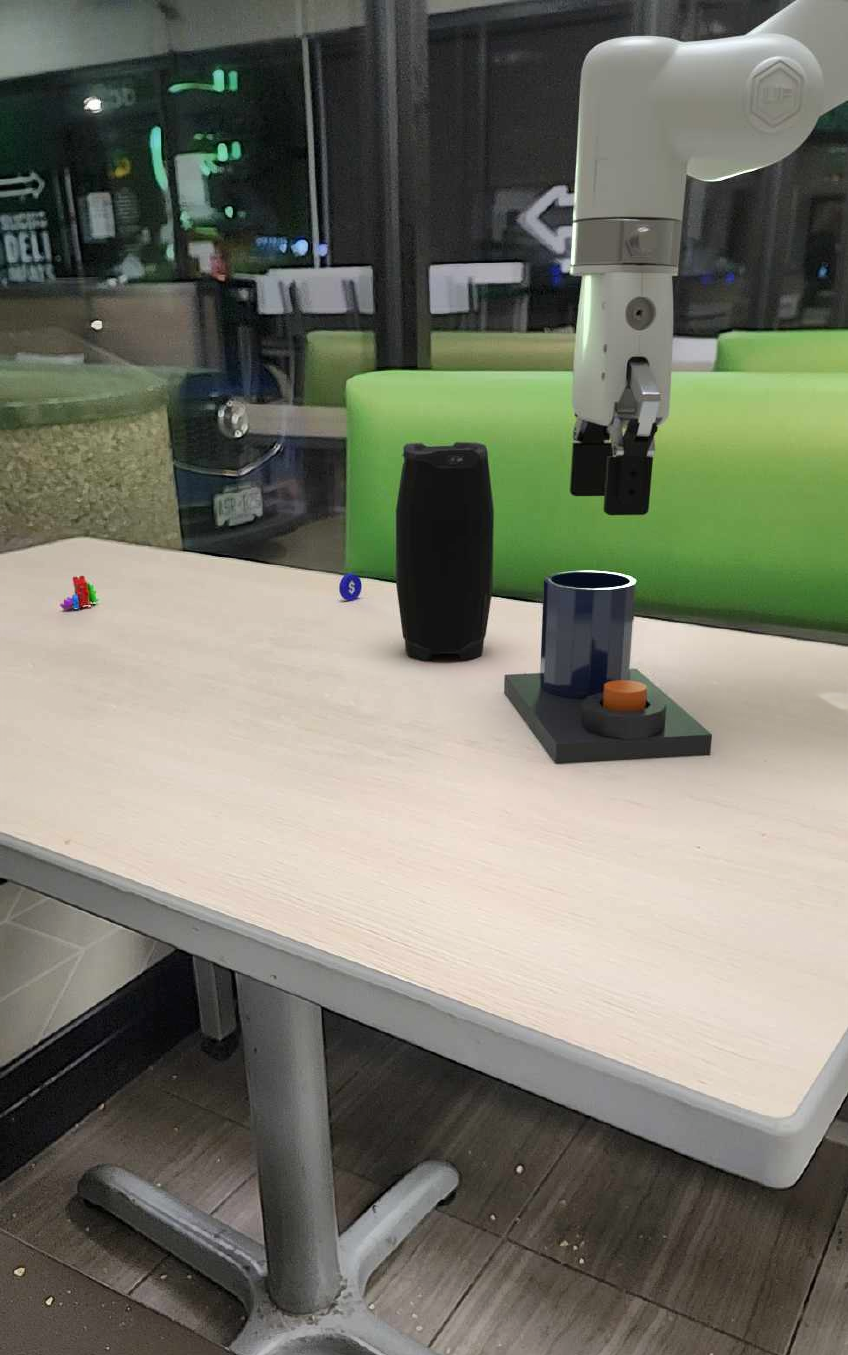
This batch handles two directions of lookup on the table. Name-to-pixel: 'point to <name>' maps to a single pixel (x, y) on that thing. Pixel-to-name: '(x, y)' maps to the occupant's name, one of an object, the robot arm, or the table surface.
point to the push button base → (606, 724)
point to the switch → (625, 695)
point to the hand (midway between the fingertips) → (606, 504)
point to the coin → (350, 586)
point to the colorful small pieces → (80, 594)
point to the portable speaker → (444, 549)
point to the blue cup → (586, 631)
